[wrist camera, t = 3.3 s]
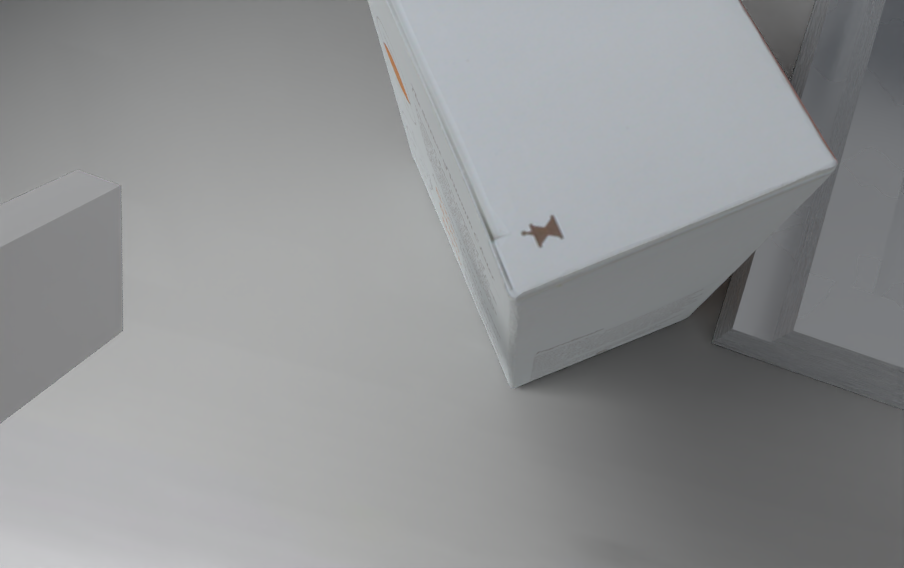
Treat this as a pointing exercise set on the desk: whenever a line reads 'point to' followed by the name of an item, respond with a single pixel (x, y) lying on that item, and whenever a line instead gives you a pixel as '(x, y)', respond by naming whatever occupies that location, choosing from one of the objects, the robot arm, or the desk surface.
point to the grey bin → (838, 218)
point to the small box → (596, 158)
